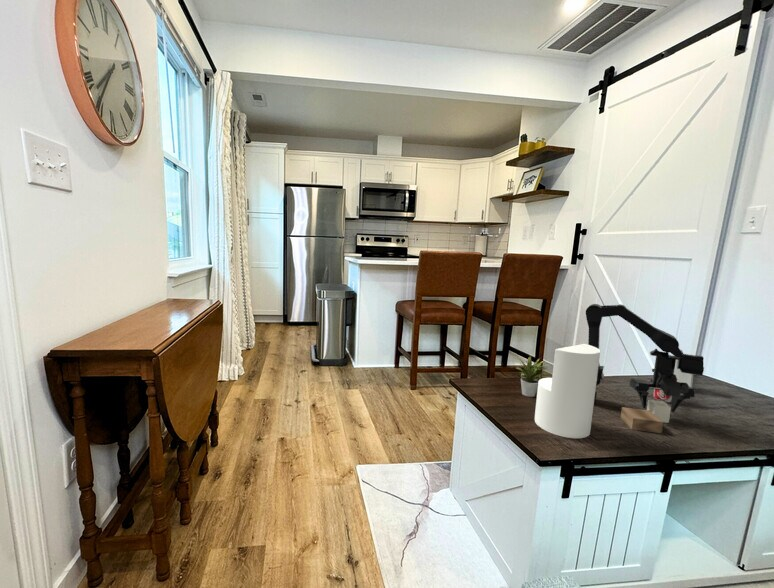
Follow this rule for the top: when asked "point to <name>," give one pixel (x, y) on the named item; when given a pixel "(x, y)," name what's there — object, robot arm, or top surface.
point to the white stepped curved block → (569, 392)
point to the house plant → (531, 377)
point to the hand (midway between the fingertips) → (658, 409)
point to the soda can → (662, 395)
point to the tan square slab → (641, 420)
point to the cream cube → (659, 410)
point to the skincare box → (683, 376)
